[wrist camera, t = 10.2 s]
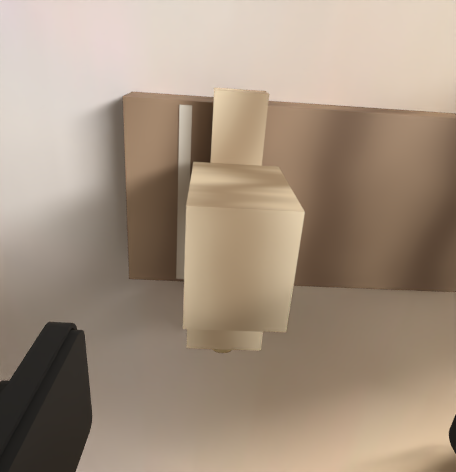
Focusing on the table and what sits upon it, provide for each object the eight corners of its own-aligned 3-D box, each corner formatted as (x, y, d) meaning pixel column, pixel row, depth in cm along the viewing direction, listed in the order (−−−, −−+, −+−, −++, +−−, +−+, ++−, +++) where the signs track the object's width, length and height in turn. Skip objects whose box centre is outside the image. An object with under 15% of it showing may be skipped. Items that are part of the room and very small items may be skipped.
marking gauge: (274, 88, 22) (319, 114, 13) (250, 310, 27) (269, 438, 18) (198, 82, 21) (189, 105, 12) (190, 308, 27) (179, 437, 18)
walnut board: (543, 119, 23) (581, 127, 21) (486, 274, 27) (512, 295, 25) (132, 91, 22) (122, 96, 19) (136, 258, 26) (128, 279, 23)
